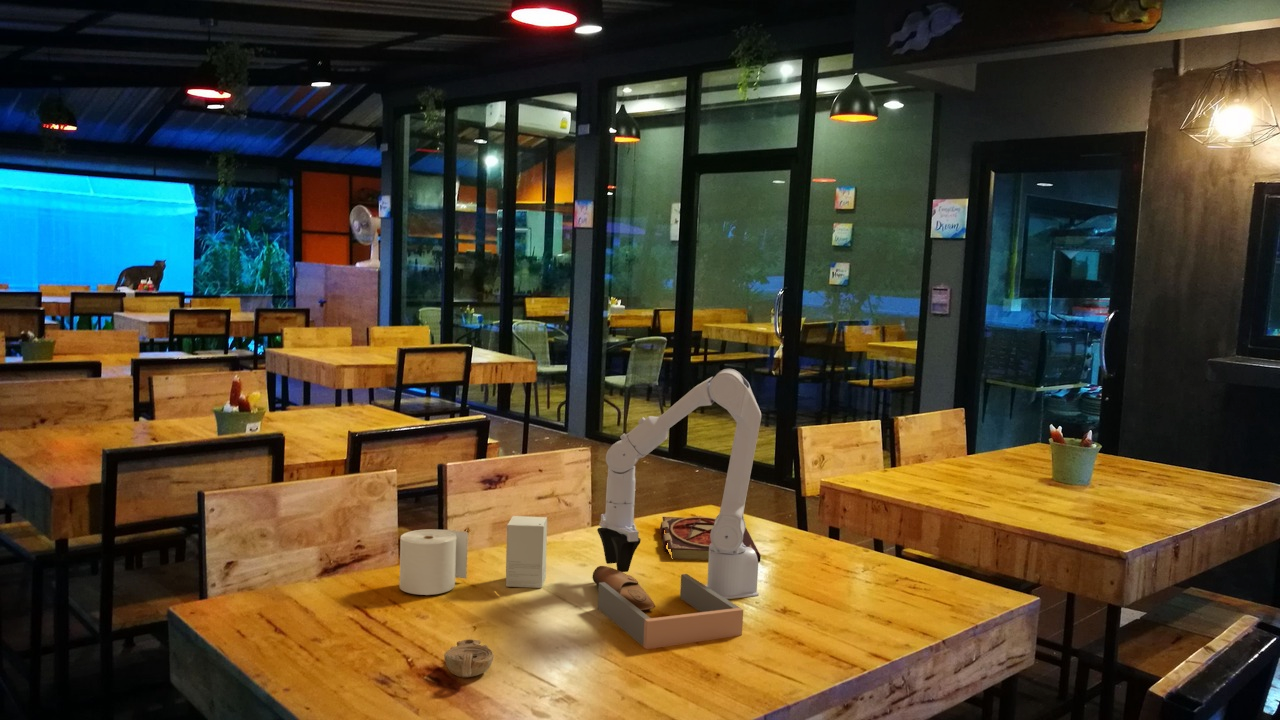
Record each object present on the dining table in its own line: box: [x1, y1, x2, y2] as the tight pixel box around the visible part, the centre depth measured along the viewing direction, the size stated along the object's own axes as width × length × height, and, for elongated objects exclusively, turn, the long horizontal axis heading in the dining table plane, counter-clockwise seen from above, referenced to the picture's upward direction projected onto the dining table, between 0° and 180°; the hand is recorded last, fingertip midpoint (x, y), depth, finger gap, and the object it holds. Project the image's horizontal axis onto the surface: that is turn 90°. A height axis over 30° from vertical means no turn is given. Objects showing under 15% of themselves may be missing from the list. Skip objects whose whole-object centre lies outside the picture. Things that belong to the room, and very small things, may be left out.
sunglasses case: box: [591, 565, 656, 612], centre depth 186 cm, size 18×7×7 cm
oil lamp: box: [443, 638, 494, 678], centre depth 149 cm, size 13×8×5 cm, turn 5°
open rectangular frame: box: [597, 573, 744, 650], centre depth 174 cm, size 18×21×5 cm
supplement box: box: [505, 515, 548, 589], centre depth 193 cm, size 7×7×13 cm
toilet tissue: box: [398, 528, 469, 596], centre depth 188 cm, size 11×12×10 cm
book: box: [659, 516, 762, 563], centre depth 227 cm, size 28×21×5 cm
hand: (617, 567), depth 194 cm, fingers open, 5 cm apart
